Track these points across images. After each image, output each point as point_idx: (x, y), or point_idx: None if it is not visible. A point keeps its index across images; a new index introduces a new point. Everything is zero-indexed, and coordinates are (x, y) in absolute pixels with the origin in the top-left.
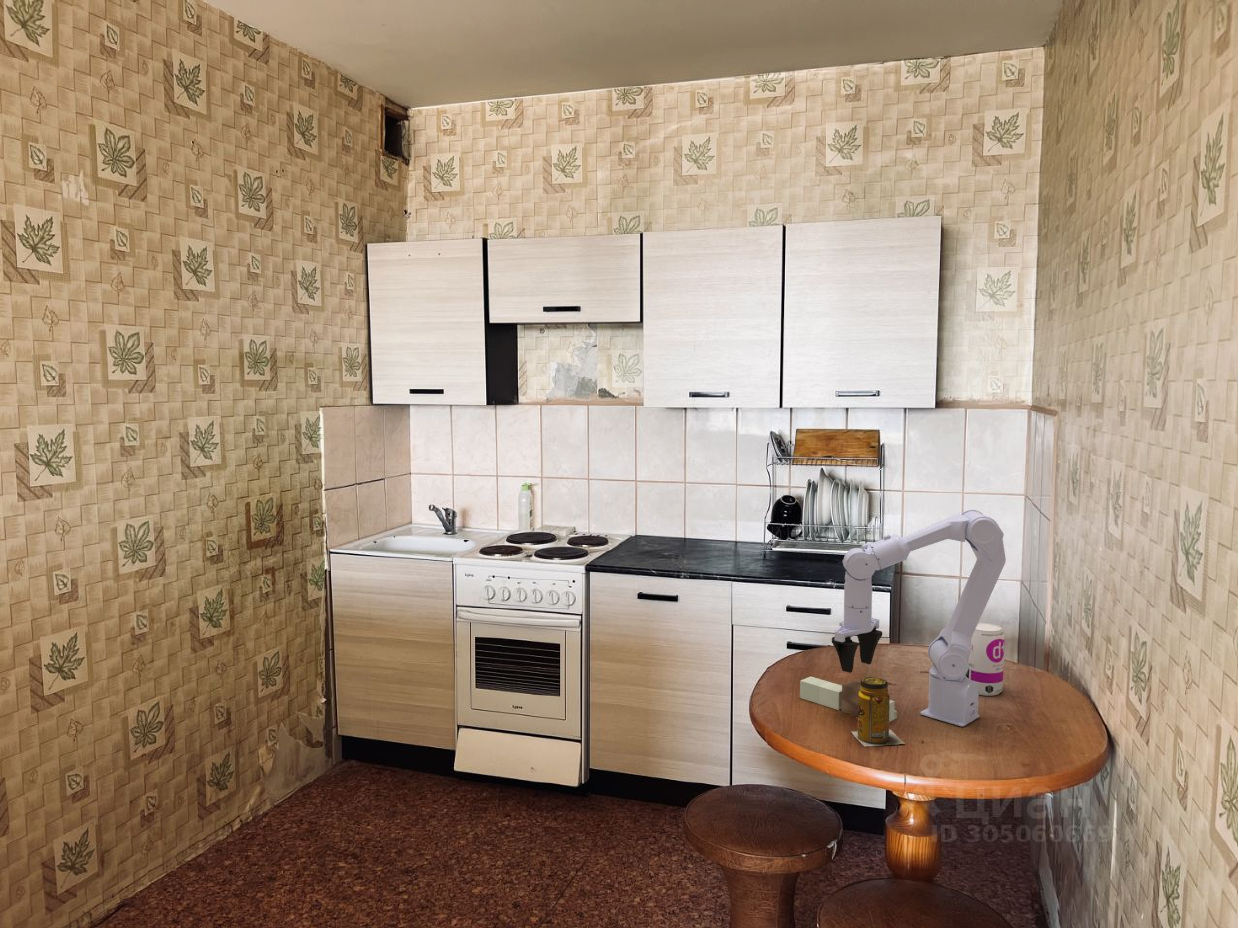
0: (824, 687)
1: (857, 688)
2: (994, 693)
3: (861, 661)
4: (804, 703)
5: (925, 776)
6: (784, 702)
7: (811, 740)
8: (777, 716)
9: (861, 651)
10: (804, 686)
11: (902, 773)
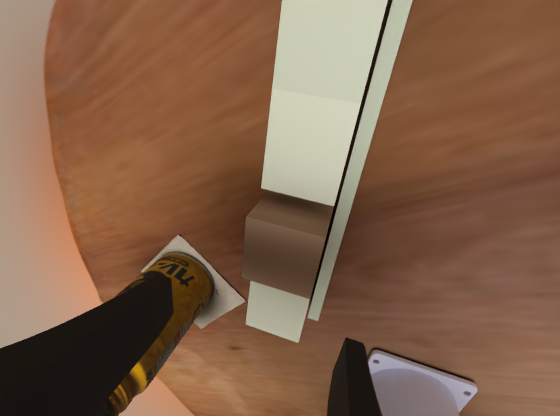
0: (274, 116)
1: (246, 273)
2: None
3: (345, 341)
4: (265, 33)
5: None
6: None
7: (85, 176)
8: (112, 17)
9: (343, 407)
10: None
11: None
